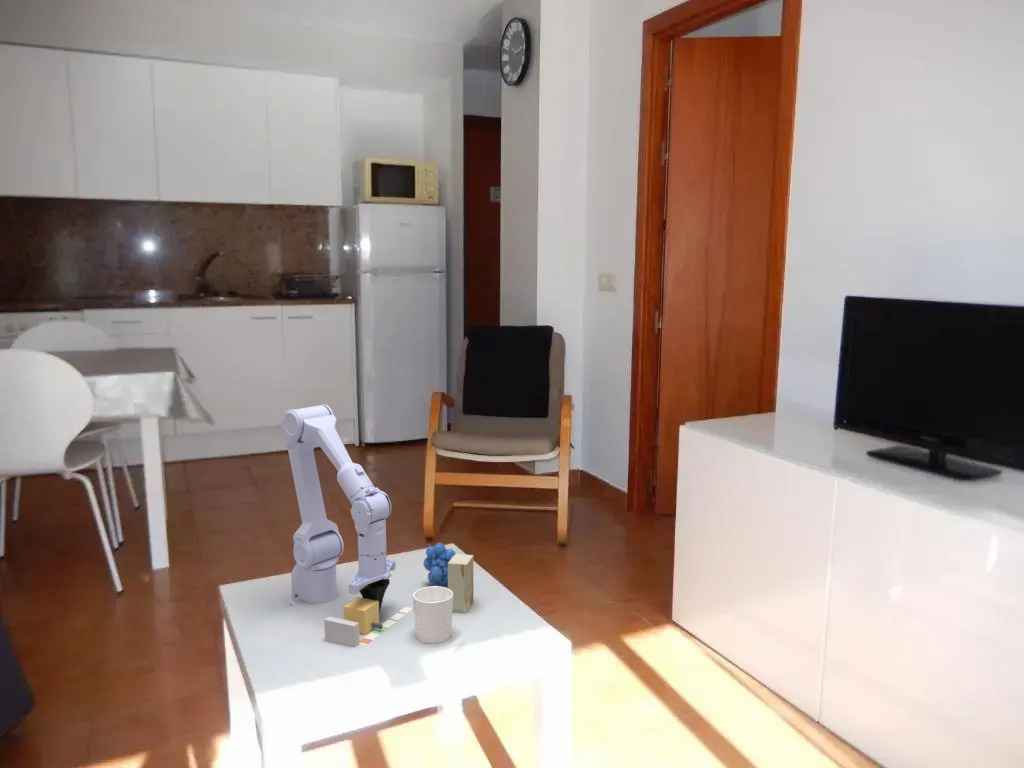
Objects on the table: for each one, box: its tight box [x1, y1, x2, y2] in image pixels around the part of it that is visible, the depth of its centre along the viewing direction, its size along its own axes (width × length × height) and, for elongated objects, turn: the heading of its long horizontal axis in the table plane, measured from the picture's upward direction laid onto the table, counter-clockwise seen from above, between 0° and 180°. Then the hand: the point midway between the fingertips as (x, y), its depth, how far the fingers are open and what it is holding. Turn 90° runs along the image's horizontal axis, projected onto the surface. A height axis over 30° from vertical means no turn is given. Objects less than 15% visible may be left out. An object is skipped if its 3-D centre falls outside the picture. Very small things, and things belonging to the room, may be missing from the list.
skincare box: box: [448, 553, 475, 615], centre depth 164 cm, size 6×4×12 cm
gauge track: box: [323, 601, 414, 648], centre depth 158 cm, size 11×22×6 cm, turn 157°
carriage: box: [343, 596, 383, 636], centre depth 154 cm, size 7×5×5 cm
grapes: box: [423, 542, 457, 588], centre depth 173 cm, size 12×7×12 cm, turn 56°
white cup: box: [412, 585, 453, 644], centre depth 151 cm, size 8×8×10 cm
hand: (373, 613), depth 159 cm, fingers closed
